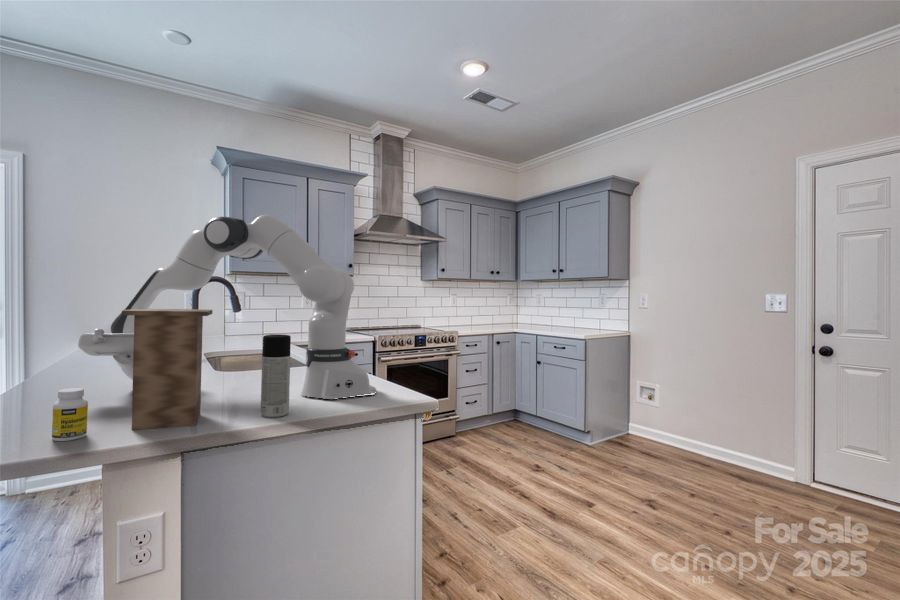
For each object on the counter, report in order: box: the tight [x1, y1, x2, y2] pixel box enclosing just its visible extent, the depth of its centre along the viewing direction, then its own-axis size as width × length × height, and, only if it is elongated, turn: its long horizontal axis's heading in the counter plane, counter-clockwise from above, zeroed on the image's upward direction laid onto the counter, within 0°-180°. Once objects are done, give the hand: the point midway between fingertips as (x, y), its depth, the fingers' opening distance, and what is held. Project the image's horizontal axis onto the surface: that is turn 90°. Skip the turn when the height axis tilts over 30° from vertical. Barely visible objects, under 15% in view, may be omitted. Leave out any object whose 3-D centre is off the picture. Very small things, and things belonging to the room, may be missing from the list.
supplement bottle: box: [51, 387, 89, 442], centre depth 89 cm, size 5×5×10 cm
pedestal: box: [121, 308, 213, 431], centre depth 101 cm, size 16×11×26 cm
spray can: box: [260, 334, 292, 419], centre depth 110 cm, size 7×7×20 cm
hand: (120, 331), depth 113 cm, fingers open, 8 cm apart
